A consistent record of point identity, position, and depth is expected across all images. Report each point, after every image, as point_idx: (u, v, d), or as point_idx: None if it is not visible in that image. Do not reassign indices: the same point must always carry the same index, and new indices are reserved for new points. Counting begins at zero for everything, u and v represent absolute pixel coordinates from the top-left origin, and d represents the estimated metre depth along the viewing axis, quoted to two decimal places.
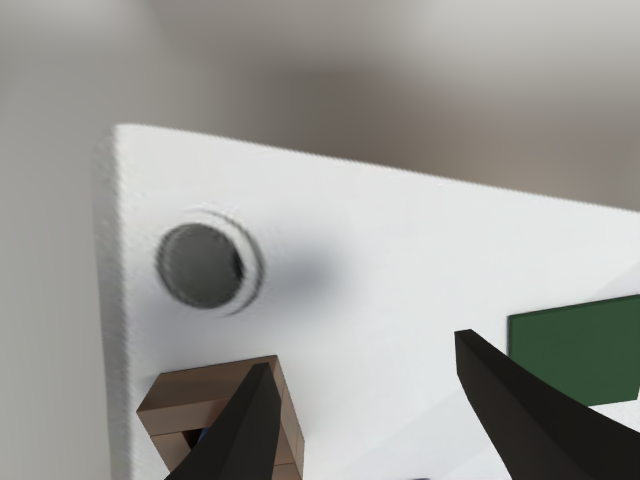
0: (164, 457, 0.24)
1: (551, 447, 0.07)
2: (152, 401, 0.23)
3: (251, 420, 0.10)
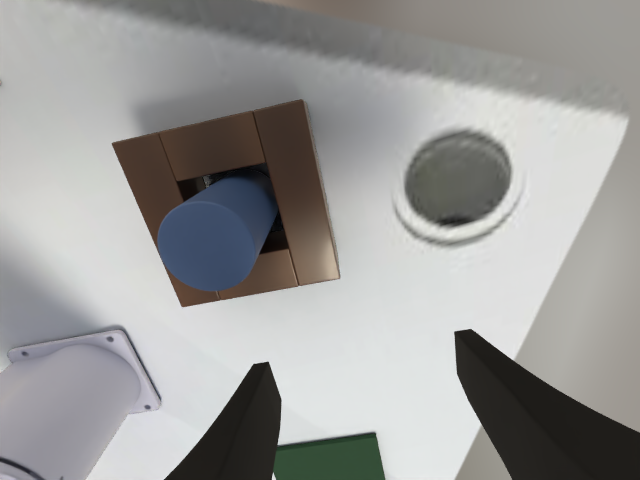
0: (206, 126, 0.15)
1: (551, 447, 0.07)
2: (307, 119, 0.16)
3: (251, 420, 0.10)
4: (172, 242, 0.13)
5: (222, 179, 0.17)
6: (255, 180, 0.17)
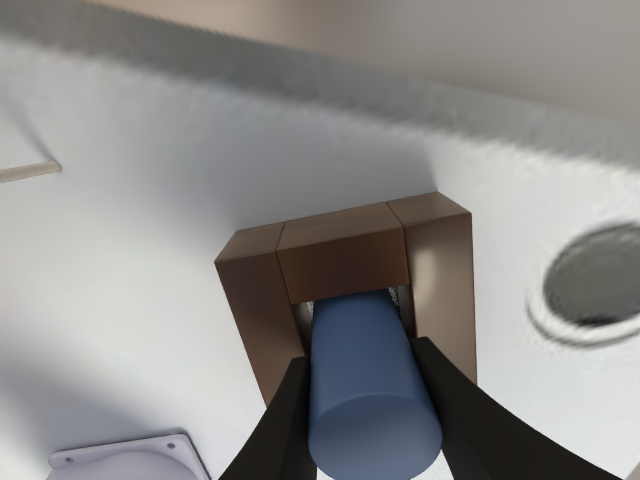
0: (340, 243, 0.12)
1: (474, 457, 0.07)
2: None
3: (299, 413, 0.10)
4: (330, 437, 0.09)
5: (346, 299, 0.13)
6: (380, 293, 0.14)
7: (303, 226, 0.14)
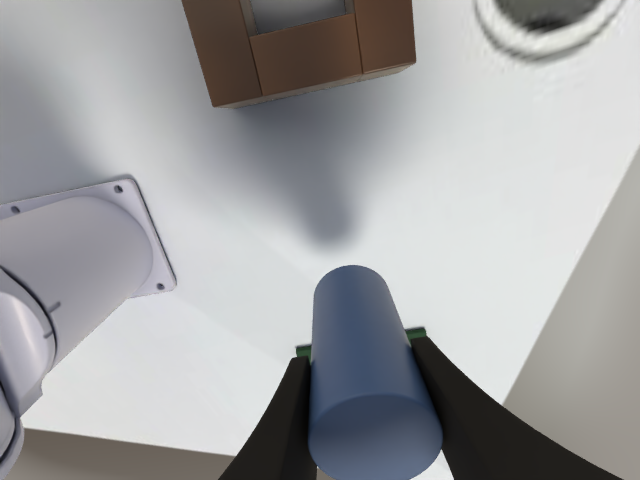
0: None
1: (474, 457, 0.07)
2: None
3: (299, 413, 0.10)
4: (330, 437, 0.09)
5: (346, 298, 0.13)
6: (380, 293, 0.14)
7: None
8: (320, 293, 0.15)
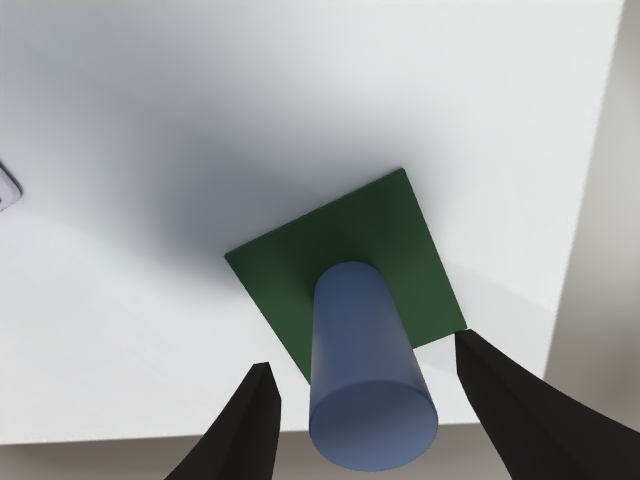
0: None
1: (551, 447, 0.07)
2: None
3: (251, 420, 0.10)
4: (330, 422, 0.10)
5: (346, 293, 0.14)
6: (378, 288, 0.14)
7: None
8: (320, 288, 0.15)
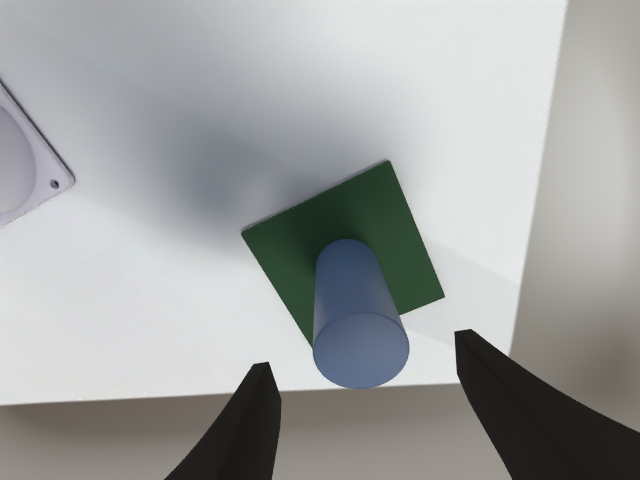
0: None
1: (551, 447, 0.07)
2: None
3: (251, 420, 0.10)
4: (328, 347, 0.13)
5: (341, 260, 0.17)
6: (368, 257, 0.18)
7: None
8: (321, 259, 0.19)
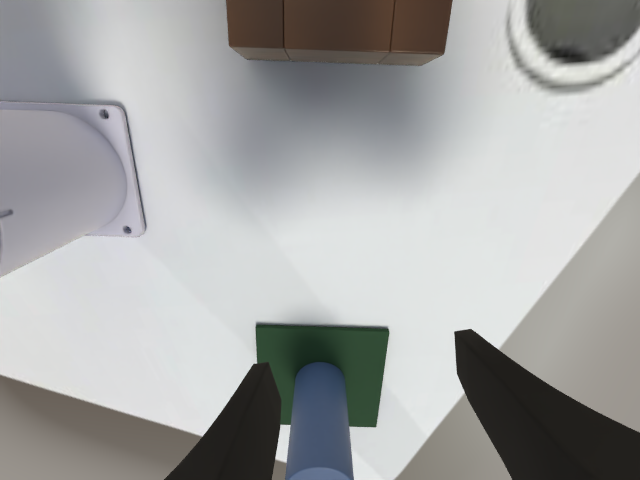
0: None
1: (551, 447, 0.07)
2: None
3: (251, 420, 0.10)
4: None
5: (326, 394, 0.22)
6: (343, 395, 0.23)
7: None
8: (308, 377, 0.23)
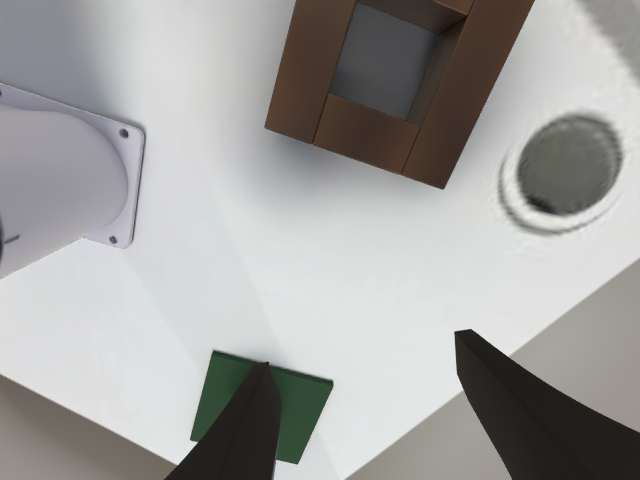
0: None
1: (551, 448, 0.07)
2: None
3: (251, 420, 0.10)
4: None
5: None
6: None
7: None
8: None
